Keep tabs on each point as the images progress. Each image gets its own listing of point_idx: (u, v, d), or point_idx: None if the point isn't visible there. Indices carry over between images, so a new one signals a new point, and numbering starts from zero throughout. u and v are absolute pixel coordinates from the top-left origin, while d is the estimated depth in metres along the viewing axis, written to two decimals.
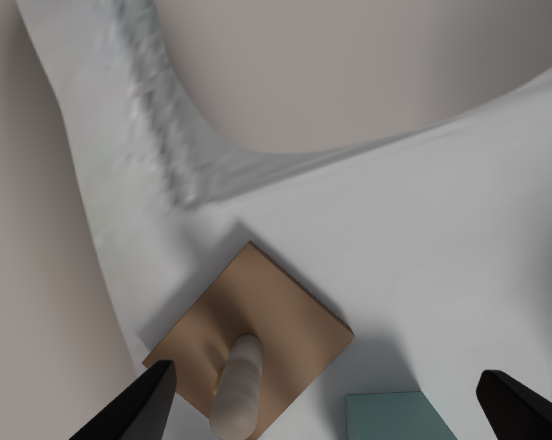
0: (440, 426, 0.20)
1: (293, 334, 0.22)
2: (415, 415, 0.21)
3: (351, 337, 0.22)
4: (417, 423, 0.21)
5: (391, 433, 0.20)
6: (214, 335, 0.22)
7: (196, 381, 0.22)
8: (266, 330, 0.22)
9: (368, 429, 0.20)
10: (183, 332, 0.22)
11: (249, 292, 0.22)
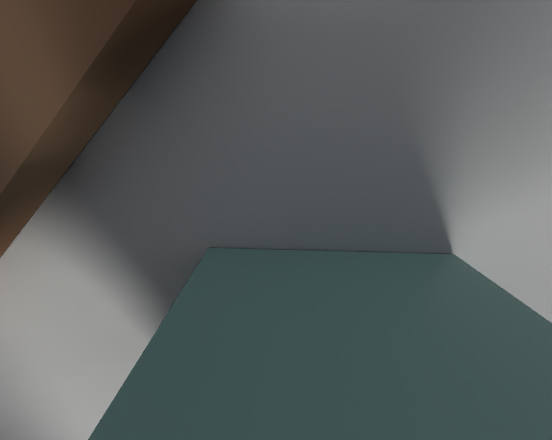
0: None
1: None
2: (437, 310, 0.05)
3: None
4: (447, 337, 0.04)
5: (307, 376, 0.04)
6: None
7: None
8: None
9: (202, 347, 0.04)
10: None
11: None
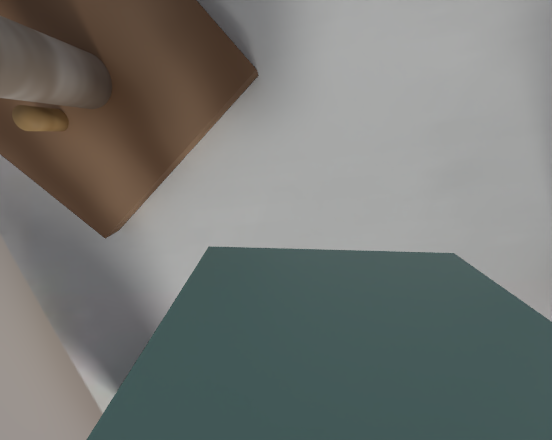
0: None
1: (156, 56, 0.13)
2: (436, 308, 0.05)
3: (250, 70, 0.14)
4: (446, 335, 0.04)
5: (307, 375, 0.04)
6: None
7: (15, 130, 0.15)
8: (111, 45, 0.13)
9: (202, 345, 0.04)
10: None
11: None
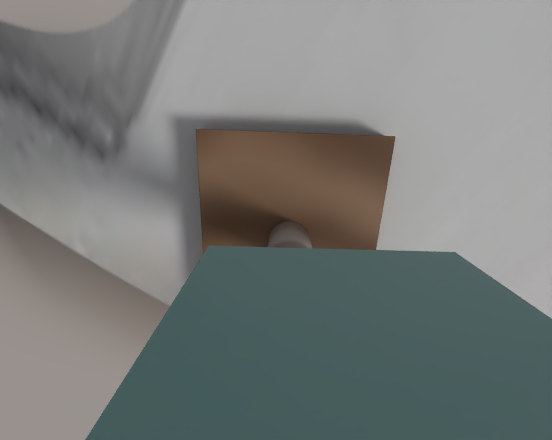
0: None
1: (323, 188, 0.17)
2: (438, 307, 0.05)
3: (391, 140, 0.16)
4: (449, 334, 0.04)
5: (308, 373, 0.04)
6: None
7: None
8: (291, 206, 0.17)
9: (202, 345, 0.04)
10: None
11: (242, 181, 0.17)
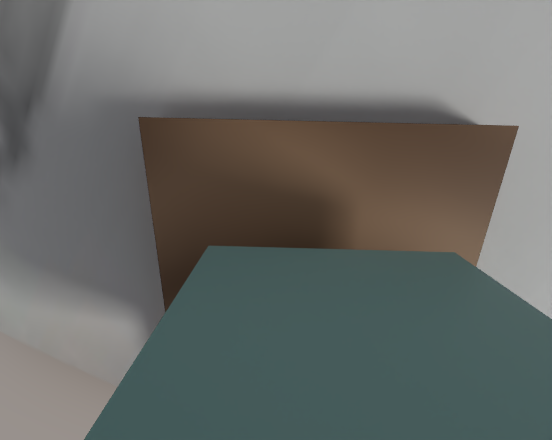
0: None
1: (375, 222, 0.09)
2: (437, 307, 0.05)
3: (509, 134, 0.08)
4: (448, 334, 0.04)
5: (307, 373, 0.04)
6: None
7: None
8: None
9: (201, 345, 0.04)
10: None
11: (229, 212, 0.09)
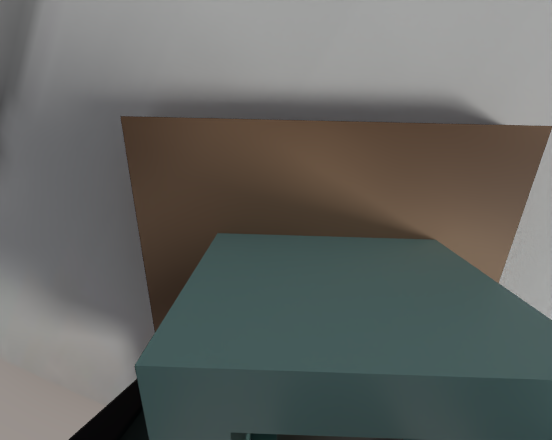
0: (516, 315, 0.05)
1: (387, 234, 0.08)
2: (414, 281, 0.06)
3: (541, 135, 0.07)
4: (419, 300, 0.05)
5: (304, 323, 0.04)
6: None
7: None
8: None
9: (218, 305, 0.05)
10: None
11: (224, 222, 0.08)
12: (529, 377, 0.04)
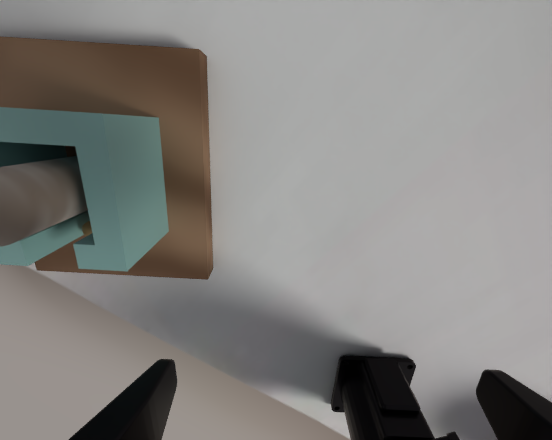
0: None
1: (130, 113, 0.15)
2: None
3: (195, 54, 0.14)
4: None
5: None
6: None
7: None
8: None
9: None
10: None
11: (37, 102, 0.14)
12: (65, 112, 0.10)
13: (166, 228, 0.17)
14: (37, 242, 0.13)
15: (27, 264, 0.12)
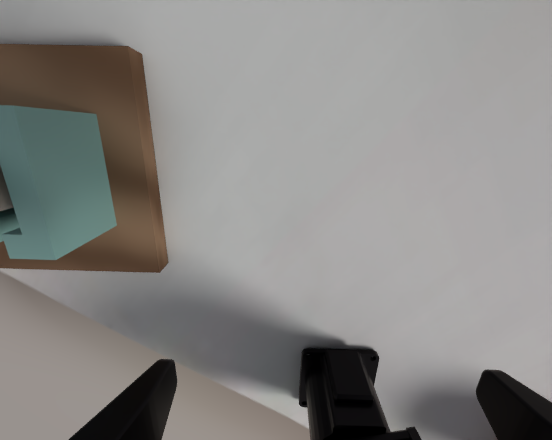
0: None
1: (69, 110, 0.15)
2: None
3: (125, 51, 0.14)
4: None
5: None
6: None
7: None
8: None
9: None
10: None
11: None
12: None
13: (113, 222, 0.17)
14: None
15: None
